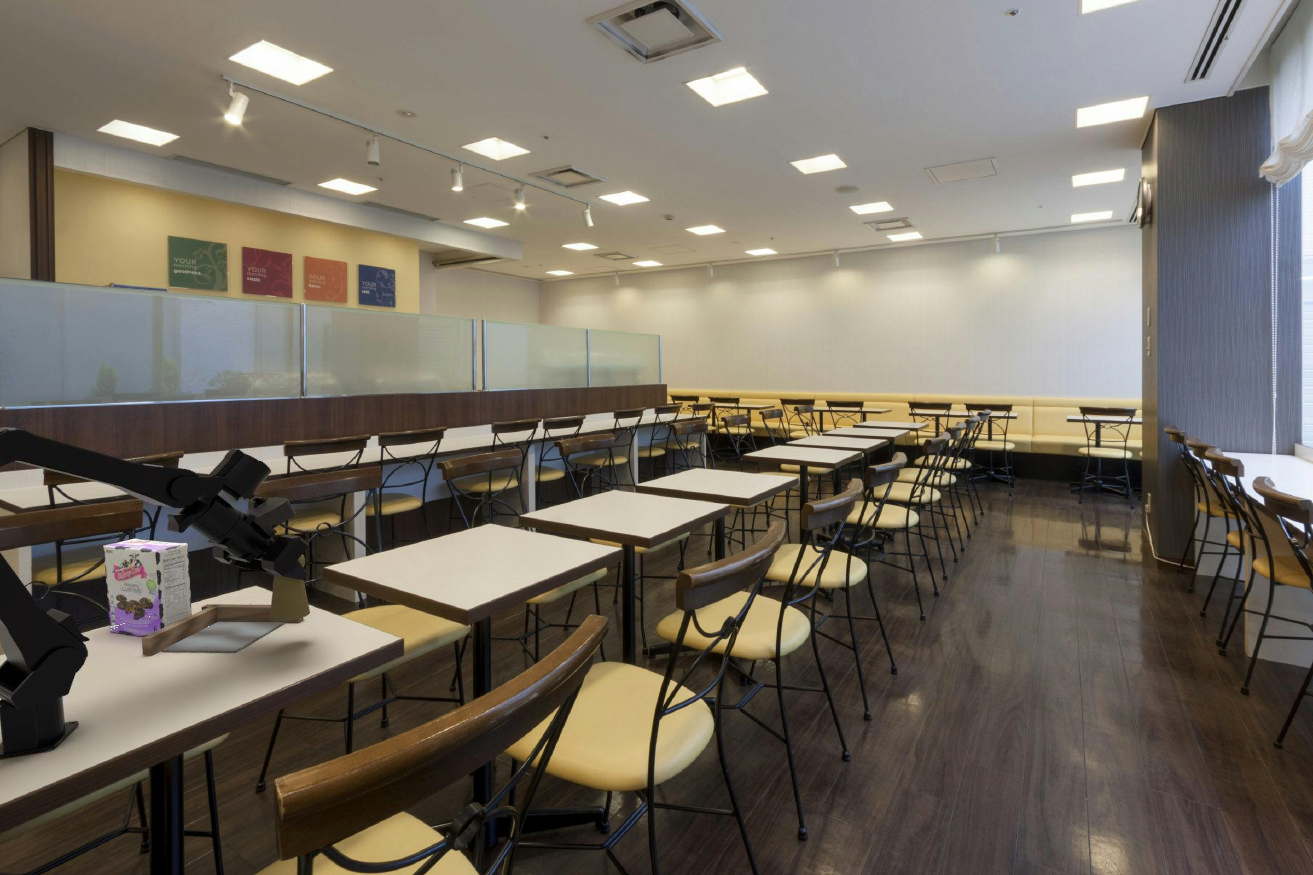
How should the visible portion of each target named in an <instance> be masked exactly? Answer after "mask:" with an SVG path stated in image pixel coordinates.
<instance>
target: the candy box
mask: <svg viewBox="0 0 1313 875" xmlns="http://www.w3.org/2000/svg"><path fill="white" fill-rule="evenodd" d="M188 545H189V544H188V543H186V542H181V543H180V542H167V541H158V540H148V539H139V538H132V539H128V540H127V539H126V540H121V541H118V542H115V543H109V544H105V545H104V544H103V547H102V548H103V549H102V550H103V558H104V569H105V571H104V572H105V583H106V591H107V592H106V593H107V595H106V596H107V603H108V604H107V605H108V618H109V630H110V629H112V630H110V632H111V633H115V634H117V633H118V634H124V635H130V636H135V637H137V636H138V637H142V638H143V637H145V636H148V635H150V634H152V633H154V632H156V631H158V630H161V629H163V628H165V627H167V626H169V625H171V624H173V623H176V622H178V621H180V620H182V619H184V618H186V617H189V616H191V615H193V614H192V613H193V612H192V597H191V596H192V595H191V594H192V592H191V581H190V580H191V579H190V578H191V577H190V563H189V562H190V560H189V547H188ZM149 616H150V617H149ZM123 623H125V624H123ZM120 624H122V625H120ZM114 625H119V626H115V627H112V628H110V626H114ZM116 627H118V628H116ZM114 628H115V629H114Z"/></svg>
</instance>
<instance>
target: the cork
mask: <svg viewBox="0 0 1313 875" xmlns="http://www.w3.org/2000/svg"><path fill="white" fill-rule="evenodd" d="M298 560H299V562H300V564H301V565H302V567H303V568H304V567H305V564H306V558H305V555H304V553H303V554H302V555H301V557H300V558H299V559H298ZM306 591H307V590H306V586H305V580H299V579H293V578H288V577H282V576H277V575H273V582H272V593H271V594H272V595H271V601H270V602H271V604H270V605H271V611H270V620H271V621H275V622H285V621H292V620H297V619H300V618H306V617H308V616H309V615H310V614H311V611H310V605H309V600H308V596H307V592H306Z"/></svg>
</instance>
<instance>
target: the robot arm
mask: <svg viewBox="0 0 1313 875" xmlns="http://www.w3.org/2000/svg"><path fill="white" fill-rule="evenodd" d="M14 462H16V463H21V464H24V465H28V466H31V467H36V468H40V469H42V470H43V469H44V470H49V471H51V472H55V473H60V474H63V475H69V476H71V477H76V478H78V479H79V478H81V479H82V480H83V479H84V480H87V481H91V482H95V483H100V484H104V485H107V486H110V487H113V488H114V489H117V490H120V491H122V492H123V493H125V494H127V495H130V496H131V497H134V498H136V499H138V500H141V501H143V502H146V503H148V504H150V505H154V506H161V507H167V508H173V509H179V511H177V512H175V513H168V514H167V515H166V516H167V520H168V522H167V531H168V532H173V533H178V534H183V533H184V532H186V531H187V529H188V528H189V527H190V528H191V529H193V530H194V531H196V532H198V533H200V534H201V535H203V537H205V538H206V539H208V541H207V543H209V544H210V545H212V546H213V548H211V549H212V557H213V558H214V559H215V560H217V561H218V562H220V563H223V564H227V565H231V564H232V562H233V561H232V560H235V562H234V563H233V566H235V567H236V568H237V567H238V568H241V569H248V570H253V571H257V572H261V573H262V572H263V573H265V574H269V575H272V576H274V575H277V576H282V577H288V578H293V579H299V580H304V581H305V580H306V579H307V577H308V573H307V571H306V569H305V568H304V567H302V565H301V564H300V562H299V560H298V559H299V558H300V557H301V555H302V554H303V555H304V553H305V551H306V550H307V549H308V547H309V542H308V541H306V540H305V539H304V538H303V537H302V536H299V535H293V534H284V535H280V536H279V537H278V538H277V539H276V540H271V538H273V537H274V536H275V535H276V534H277V532H278V531H277V530H276V529H275V528H277V527H279V526H281V525H283V523H285V522H286V521H288V520H289V519H290V520H291V519H293V518H294V517H295V516H296V515H297V513H296V512H295V510H294V508H293V506H292V504H291V502H290V501H289V498H287V497H286V498H285V497H280V496H279V497H278V496H273V497H268V498H266V499H265V498H263V497H261V496H254V497H252V495H253V494H255V492H256V491H257V489H259V487H260V486H261V485H262V483H263V482H264V481H265V480H266V479H268V477H269V475H270V474H271V473H272V469H271V468H270V467H269V466H268V465H267V464H266V463H265V462H263V460H259V459H258V458H255V457H254V456H252V455H249V454H247V453H245V452H244V451H242V450H240V449H239V448H230V449H229V450H228V452H227V453H226V454H225V455H224V457H223V459H221V461H220V462H219V463H218V464H217V465H216V466H215V467H214V468H213V469H212V471H211V472H210V473H202V472H196V471H193V470H191V469H188V468H182V467H181V468H180V467H173V466H165V465H159V464H158V465H156V464H149V463H141V462H133V461H129V460H125V459H123V458H118V457H116V456H112V455H109V454H105V453H101V452H97V451H95V450H90V449H88V448H83V447H81V446H76V445H73V444H70V443H67V442H64V441H63V442H62V441H60V440H55V439H52V438H49V437H45V436H42V435H38V434H34V433H32V432H31V431H29V430H28V429H24V428H19V427H7V426H5V427H4V426H3V427H0V468H2V467H5V466H6V465H9V464H11V463H14ZM250 497H252V498H251V499H250ZM239 500H240V501H241V500H242V501H247V513H243V512H241V510H239V509H238V508H236V507H235V506H233V505H232V504H231V503H229V502H228V501H230V502H232V503H237V502H238V501H239ZM89 641H90V638H89V637H88V636H85V635H84V634H83V633H82V632H81V631H80V629H79V628H78V625H77V622H76V620H75V618H74V617H73V616H72V615H71V614H69V613H65V612H62V611H61V610H57V609H54V608H50V609H49V610H48V611H45V610H44V609H42V607H41V606H40V605H39V603H38V602H37V600H36V599H35V598H34V596H33V595H32V594H31V592H30V591H29V590H28V588H27V587H26V585H25V584H24V583H23V581H22V580H21V579H20V577H19V576H18V574H17V573H16V572H15V570H14V568H12V566H11V565H10V564H9V562H8V561H7V559H6V558H5V556H3V554H2V553H1V552H0V645H1V649H2V650H3V652H4V655H5V657H6V660H4V661H3V662H2V664H1V665H0V734H1V743H0V759H3V758H7V757H15V756H20V755H26V754H33V753H39V752H45V751H46V752H47V751H50V750H53V749H55V748H56V747H58V745H59V744H60V743H62V742H63V740H65V739H66V738H67V736H69V735H70V734H71V733H72V732H73V731H74V730H75V729H77V727H78V726H79V725H80V724H79V721H78V720H73V721H67V722H65V720H66V719H65V710H64V709H65V708H64V700H63V699H64V698H63V697H65V696H67V695H69V693H70V692H71V688H72V686H73V682H74V680H75V677H76V674H77V673H78V672H80V670H81V669H82V667H83V666H84V665H85V662H86V660H87V658H88V657H89V650H88V647H87V645H86V644H85V642H89Z"/></svg>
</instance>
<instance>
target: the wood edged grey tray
mask: <svg viewBox="0 0 1313 875" xmlns="http://www.w3.org/2000/svg"><path fill="white" fill-rule="evenodd" d="M270 611H271V604H237V603H236V604H233V603H232V604H227V603H225V604H220V603H219V604H215V603H214V604H213V603H211V604H208V603H207V604H204V605H203V606H201V610H200V611H197V612H196V613H193V614H192V615H191V616H189V617H186V618H184V619H182V620H180V621H178V622H176V623H173V624H171V625H169V626H167V627H165V628H163V629H161V630H158V631H156V632H154V633H152V634H150V635H148V636H145V637H142V638H141V647H142V656H143V655H146V656H147V657H152V656H155V655H156V654H158V653H160V652H162V653H202V654H203V653H209V654H210V653H213V654H214V653H215V654H217V653H219V654H221V653H222V654H231V653H232V654H235V653H238V652H240V651H241V650H243V649H245V648H246V647H248V646H250V645H252V644H253V643H255V642H257V641H258V640H260V639H262V638H263V637H265V636H267V635H269V634H270V633H272V632H273V631H275V630H276V629H278V628H280V627H282V626H283V625H285V624H300V623H301V622H303V621H304V620H305V619H304V618H305V617H303V618H300V619H297V620H292V621H285V622H275V621H271V620H270ZM208 626H209V627H208Z"/></svg>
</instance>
